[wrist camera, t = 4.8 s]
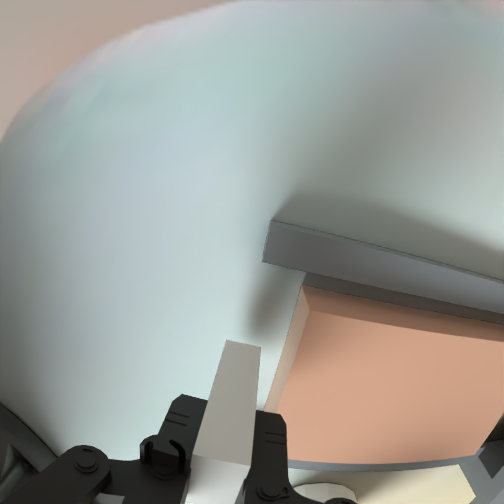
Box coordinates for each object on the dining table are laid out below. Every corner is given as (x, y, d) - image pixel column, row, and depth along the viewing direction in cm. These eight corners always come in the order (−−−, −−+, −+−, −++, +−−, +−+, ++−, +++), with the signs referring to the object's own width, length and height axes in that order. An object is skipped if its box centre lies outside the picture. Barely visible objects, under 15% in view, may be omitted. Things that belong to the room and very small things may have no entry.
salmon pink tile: (261, 417, 16) (259, 455, 13) (301, 284, 14) (309, 310, 11) (457, 428, 16) (474, 454, 13) (511, 325, 14) (538, 346, 11)
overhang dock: (210, 470, 17) (196, 537, 12) (288, 140, 13) (301, 110, 7) (521, 459, 17) (544, 491, 11) (611, 275, 13) (651, 293, 7)
